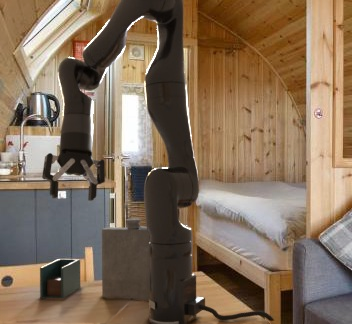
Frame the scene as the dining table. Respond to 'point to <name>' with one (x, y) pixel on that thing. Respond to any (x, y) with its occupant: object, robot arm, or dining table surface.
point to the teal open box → (68, 273)
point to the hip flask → (126, 261)
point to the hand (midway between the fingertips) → (73, 199)
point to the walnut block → (54, 286)
